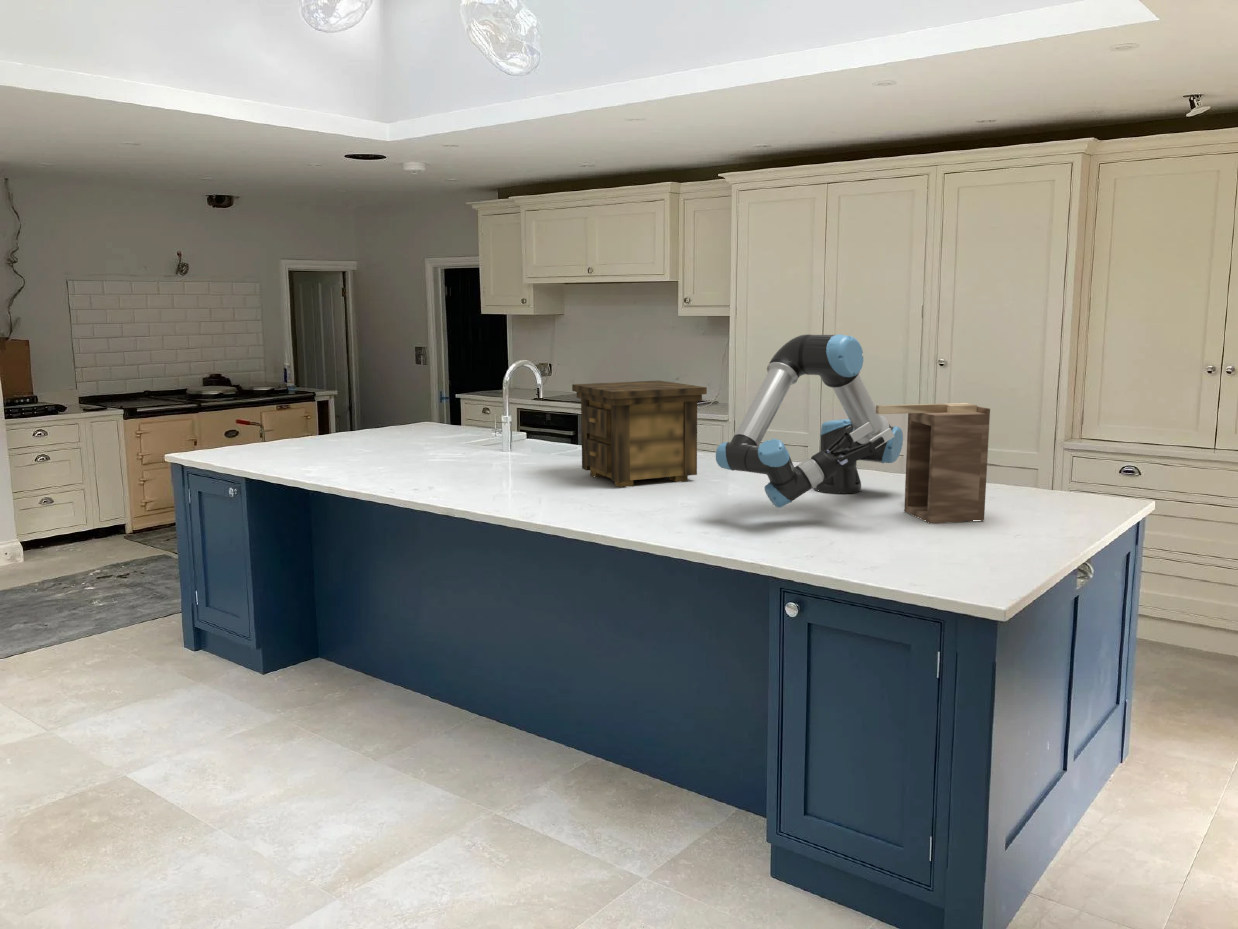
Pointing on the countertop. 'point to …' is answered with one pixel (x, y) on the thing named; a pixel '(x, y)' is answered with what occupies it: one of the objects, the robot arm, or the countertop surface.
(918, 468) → the walnut shelf
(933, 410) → the beige long flat part
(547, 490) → the countertop surface
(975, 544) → the countertop surface
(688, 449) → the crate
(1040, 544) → the countertop surface
